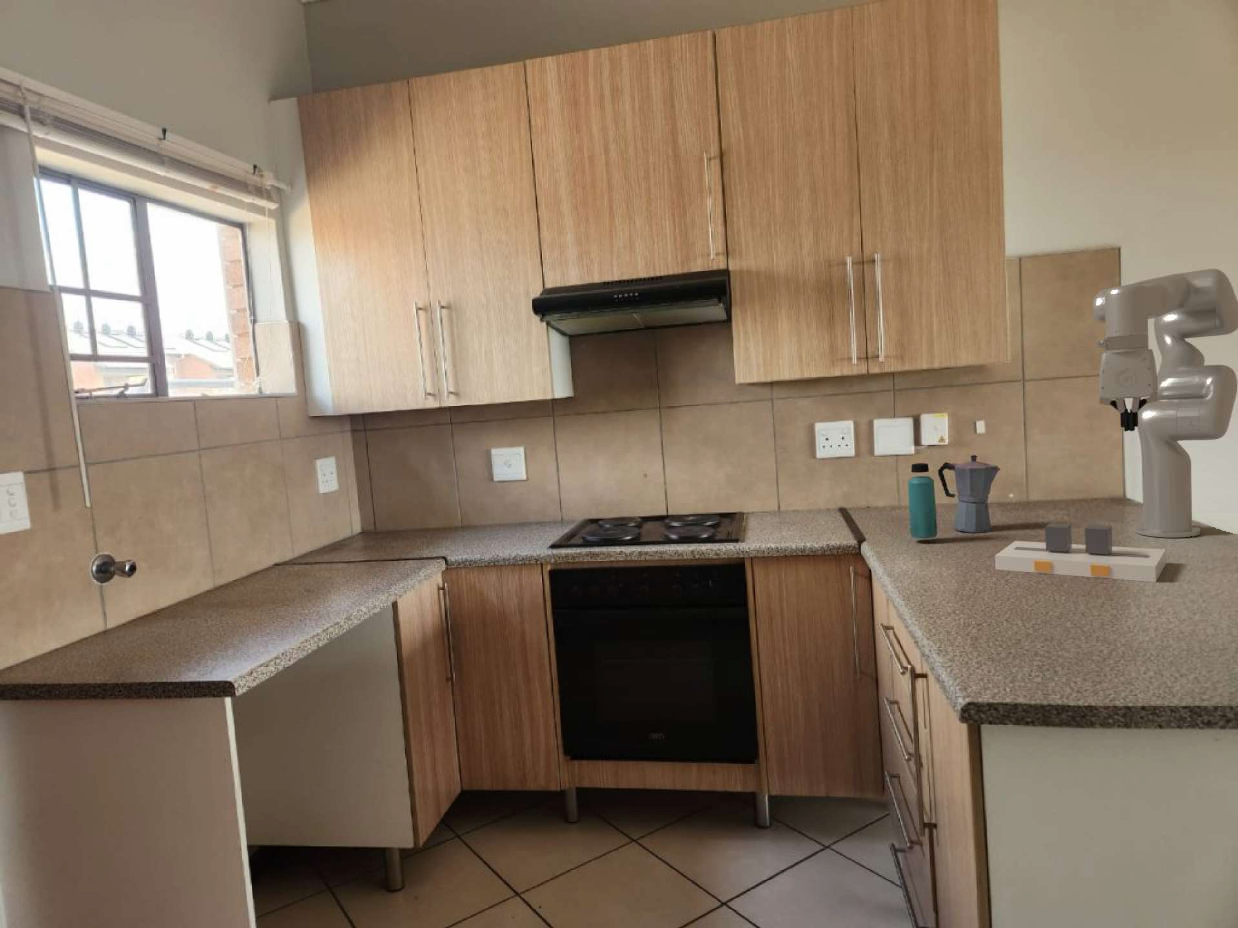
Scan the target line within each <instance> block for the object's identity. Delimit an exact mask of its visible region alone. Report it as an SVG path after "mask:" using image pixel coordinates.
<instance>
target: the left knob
mask: <svg viewBox="0 0 1238 928" xmlns="http://www.w3.org/2000/svg"><path fill="white" fill-rule="evenodd" d="M1044 528H1045V543H1046V550H1050V551H1067V552H1068V551H1069V550H1070V549H1071V548H1072V544H1073V543H1072V523H1048V524H1047V525H1046V526H1045V527H1044Z"/></svg>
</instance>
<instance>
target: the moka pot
mask: <svg viewBox="0 0 1238 928" xmlns="http://www.w3.org/2000/svg"><path fill="white" fill-rule="evenodd" d="M977 458H978V455H975V454H973V455H970V461H967V462H962V463H953V462H952V463H950V462H944V463H943V464H942V465H941V466H940V468H938V470H937V474H938V475H937V476H938V478H939V480H940V483H941V486H942V488H943V491H944V495H945V497H948V498H949V497H950V498H952V499H953V498H955V497H956V494H955V493H951V492H950V491H949V489H948V488H949V487H948V484H947V480H946V478H945V477H946V476H945V474H944V471H945V470H949V471H953V472H954V476H955V484H956V492H957V498H958V501H957V507H956V511H955V512H956V513H955V519H954V526H953V529H954V530H956V531H959V532H963V533H975V534H976V533H977V534H978V533H979V534H980V533H989V532H990V531H992V527H991V519H990V518H991V517H990V509H989V502H988V501H989V495H990V493H991V488H992V484H993V482H994V480H995V478H996V476H997V473H998V472H999V471H1000V470H1002V469H1001V467H999V466H998V465H995V464H991V463H990V464H989V463H986V462H980V461H977Z"/></svg>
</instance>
